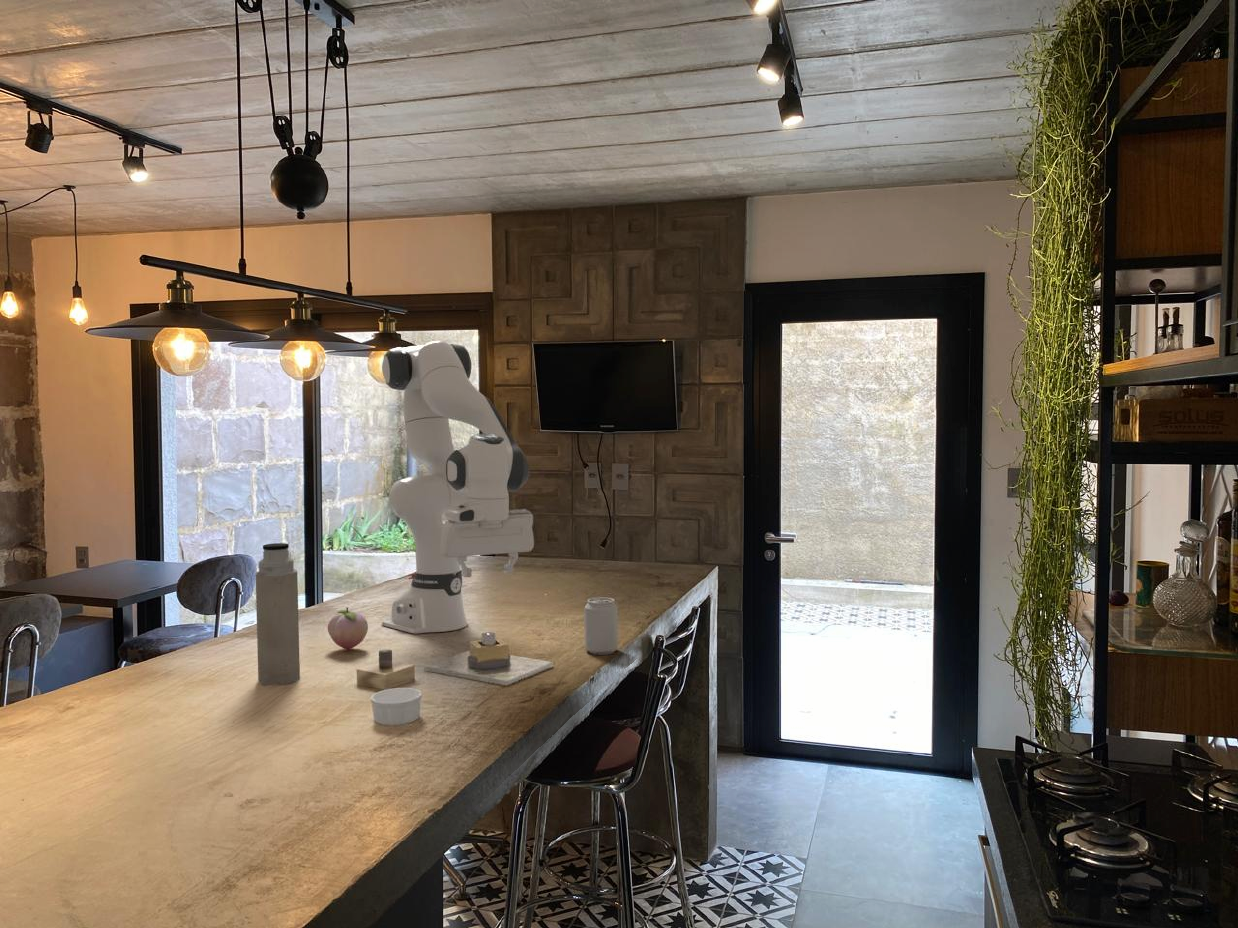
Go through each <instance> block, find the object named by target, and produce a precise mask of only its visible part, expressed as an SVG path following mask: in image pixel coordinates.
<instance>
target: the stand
mask: <svg viewBox="0 0 1238 928" xmlns="http://www.w3.org/2000/svg"><path fill="white" fill-rule="evenodd" d="M415 679H416V678H415V664H410V663H404V662H399V661H394V660H393V650H392V649H389V648H388V649H387V648H386V649H381V650H378V662H375V663H372V664H369V665H366V666H363V667H359V668H356V685H361V686H365V687H370V688H374V689H380V690H387V689H393V688H396V687H398V686H401V685H404V684H406V683H408V682H411V681H414V680H415Z"/></svg>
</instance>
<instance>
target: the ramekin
mask: <svg viewBox="0 0 1238 928" xmlns="http://www.w3.org/2000/svg"><path fill="white" fill-rule="evenodd" d="M422 696H423V692H422V691H421V690H419V689H416V688H413V687H412V688H411V687H393V688H390V689H387V690H384V689H382V690H380V691H377V692H375V693H373V694H372V695H371V696H370V702H371V705H372V712H373V713H372V714H373V721H375V723H377V724H379V725H382V726H402V725H407V724H410V723H412V722H415V721H417V720H418V718H419V717H420V715H421V701H422V700H421V699H422Z"/></svg>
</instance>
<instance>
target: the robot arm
mask: <svg viewBox="0 0 1238 928" xmlns="http://www.w3.org/2000/svg"><path fill="white" fill-rule="evenodd" d="M381 364H382V365H381V372H382V376H383V378H384V380H385V383H386V385H387V386H388V387H389V388H391V389H392V390H397V391H404V392H403V419H404V421H403V422H404V427H405V428H404V429H405V435H406V436H405V437H406V442H407V449H408V452H409V454H410V456H411V457H412V458H413V459H414V460H416V461H418V462H420V463H421V464H422V465H423V467H425V469H426V470H427V473H428V474H427V475H422V474H421V475H413V476H408V477H405V478H402V479H400V480H396V481H395V482H394V483H393V485H392V486H391V488H390V491H389V496H388V501H389V505H390V508H391V510H392V511H393V513H394V515H395V516H397V517H398V518H400V520H402V521H403V522H404V524H406V526H407V528H408V529H409V531H410V533H411V536H412V538H413V542H414V549H415V551H414V552H415V569H416V570H415V572H414V573H411V574H408V575H407V576H409V577H408V578H407V579H408V580H411V583H410V586H409V587H408V588H407V589H405V591H403V593H402V594H400V595H399V596H398V597H396V598H395V599H394V601H393V602H392V605H391V612H390V613H391V616H390V617H387V618H386V619H383V620H382V622H381V625H382V626H383V627H387V628H391V629H396V630H399V631H403V632H407V633H410V634H423V633H424V634H426V633H441V632H444V633H445V632H451V631H456V630H460V629H463V628H465V627H467V626H468V621H467V617H466V613H465V607H464V602H463V595H462V586H463V578H471V577H472V571H473V570H472V568H470V567H467V565H466V563H465V562H467V559H468V558H467V557H471V556H472V557H474V556H485V555H486V556H487V555H497V554H508V557H509V560H508V562H507V564H506V563H505V564H503V568H504V569H503V573H504V574H513V573H514V565H515V564H516V563H517V560H518V558H519V553H523V552H525V553H526V552H531V551H532V550H533V548H534V546H535V542H534V541H535V540H534V531H533V525H534V515H533V514H532V512H531V511H530V510H527V509H526V508H521V509H515V508H514V509H513V508H512V509H511V508H510V495H509V492H512V493H513V492H514V493H515V492H517V491H518V490H519V489H521V488H522V487H523V486H524V485H525V484H526V482H527V481H528V479H529V476H530V470H531V469H530V463H529V460H528V457H527V455H526V454H525V453H524V452H523V450H522V449H521V448H520V447H519V446H518V445H517V442H515V440H514V438H513V437H512V434H511V433H510V431H509V430H508V428H507V426H506V425H505V422H504V420H503V419H502V417H501V416H500V413H499V412H498V410H497V409H496V407H495V405H494V403H493V402H492V401H491V399H490V398H488V397H487V396H486V395H484V394H483V393H481V392H480V391H479V390H478V388H476V387H475V386H474V385H473V383H472V382H471V380H470V377H471V373H472V365H473V364H472V360H471V356H470V353H469V351H468V350H467V348H466V347H465V346H463V345H461V344H455V343H450V344H449V343H448V342H445V341H441V340H433V341H430V342H428V343H425V344H423V345H421V344H420V345H419V344H418V345H411V346H407V347H401V346H399V347H395V348H390V349H388V350H387V352H385V354H384V355H383V359H382V363H381ZM450 420H454V421H458V422H461V423H464V424H468V425H470V426H472V427H475V428H476V429H478V430H479V431H480V432H481V433H477V434H473V435H471V436H470V437H469V440H468V444H466V445H465V446H464V447H461V448H459V449H455V447H454V444H453V440H452V438H453V437H452V433H451V429H450V422H449V421H450ZM443 518H445V519H446V520H447V521H445V522H444V523H443ZM410 576H411V577H410Z"/></svg>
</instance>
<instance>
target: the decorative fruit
mask: <svg viewBox="0 0 1238 928" xmlns="http://www.w3.org/2000/svg"><path fill="white" fill-rule="evenodd" d="M368 628H369V623H368V621H367V619H366V617H364V615H363V614H361V613H359V612H357V611H356V612H355V611H350V610H349V607H348V606H346V609H345V610H339V611H337V613H336V614H335V615H333V616H332V617H331V618H330V620H329V621H328V623H327V631H328V635H329V636H330V638H331V639H332V641H333V643H334V644H336V645H337V646H339V647H340V648H342V649H344V650H347V651H350V650H352V649H353V648H355V647H357V646H358V645H360V644H361V643H362V642H363V641H364V639H365V638H366V636H367V633H368V631H369V629H368Z"/></svg>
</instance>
